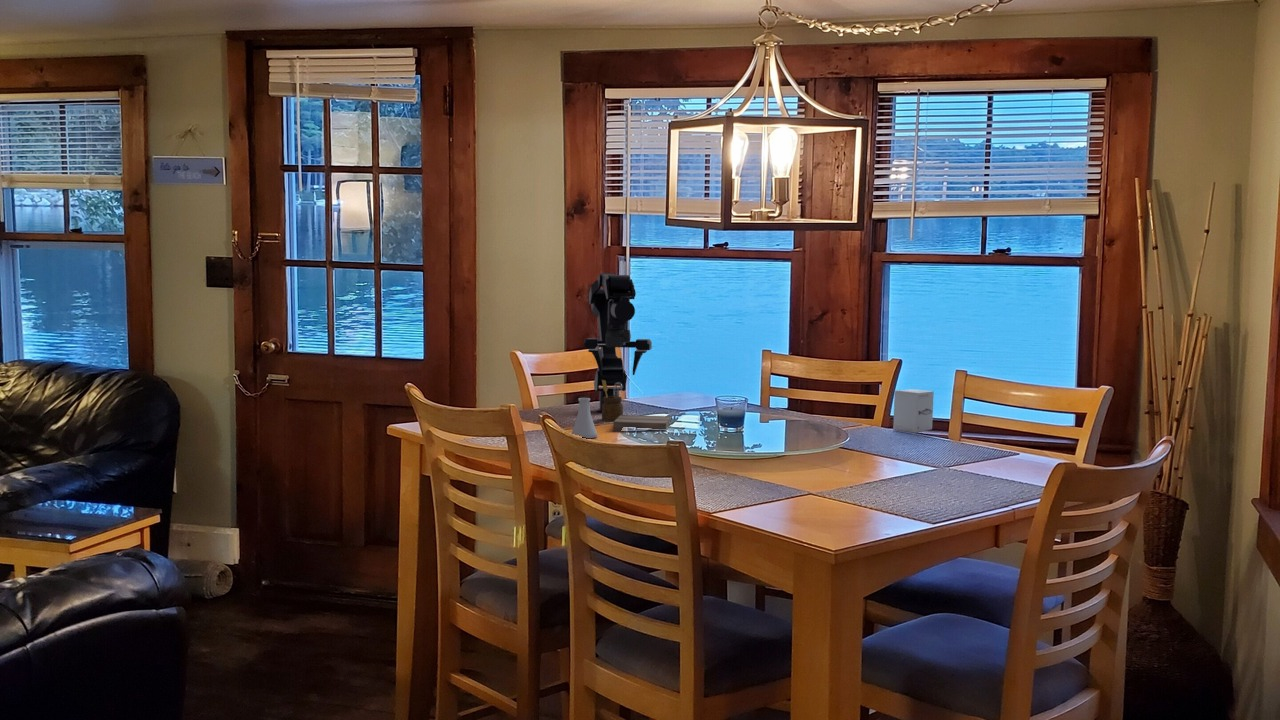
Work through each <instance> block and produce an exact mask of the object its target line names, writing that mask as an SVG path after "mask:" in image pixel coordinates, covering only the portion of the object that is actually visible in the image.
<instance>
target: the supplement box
mask: <svg viewBox="0 0 1280 720" xmlns="http://www.w3.org/2000/svg"><path fill="white" fill-rule="evenodd" d="M933 414H934V390H925V389H916V388H915V389H913V388H909V389H899V390H898V389H897V390H894V400H893V422H892V423H893V427H892V429H893V430H894V431H900V432H907V433H915V434H918V433H921V432H926V431H930V430H933V418H934V417H933V416H934V415H933Z"/></svg>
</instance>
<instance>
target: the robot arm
mask: <svg viewBox="0 0 1280 720" xmlns="http://www.w3.org/2000/svg"><path fill="white" fill-rule="evenodd" d="M636 294H637V292H636V288H635V283H634V282H633V279H631V277H630V275H629V274H615V273H614V272H613V273H611V272H609V273H606V272H604V273H603V272H602V273H598V275H597V279H596V280H595V281H594V282H593V283H592V284H591V285H590V288H589V292H588V303H589V305H590V307H591V312H592V313H593V315H594V316H595V317H596V318H597V323H598V324H597V325H598V334H599V335H598V336H599V338H596V337H588V338H585V339H584V340H583V349H584V350H587V352H588V353H591V354H592V355H593V357H594V359H595V362H596V364H597V370H596V371H595V377H594V381H593V386H594V389H593V390H595V392H599V408H598V409H597V410H596V412H597V413H598V412H599V413H602V405H603V403H604V401H603V399H604V397H605V396H606V393H605V391H604V389H603V384H602V380H604V382H605V381H606V385H607V389H608V391H607V396H620V392H623V391H624V392H625V391H626V390H627V387H626V386H627V381H628V379H627V378H628V374H626V373H627V372H626V370H625V369H624V363H623V359H622V357H618V356H617V351H616V348H635V349H636V350H634V354H633V355H634V357H633V365H632V376H635V375H636V372H637V370H638V369H637V368H638V365H639V362H640V360H641V358H642V356H643V354H646V353H647V352H648V351H651V350H652V340H651V339H650V338H647V339H646V338H637V339H636V340H635V341H633V340H631V339H632V337H631V335H632V334H631V329H629V321H631V320H632V319H633V318H634V317H635V313H636V308H635V306H634V304H633V303H632V302H630V300H635V297H636V296H637V295H636ZM604 382H603V383H604ZM616 383H617V385H616ZM618 383H619V384H618ZM620 383H621V384H620ZM614 385H615V386H614ZM621 386H622V387H621ZM615 388H616V389H615ZM617 388H619V389H617ZM620 389H621V390H620ZM614 390H615V395H614ZM617 394H618V395H617Z"/></svg>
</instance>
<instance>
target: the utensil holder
mask: <svg viewBox="0 0 1280 720" xmlns="http://www.w3.org/2000/svg"><path fill="white" fill-rule="evenodd" d="M603 382H604V380H602V384H603V386H602V387H603V389H604V391H605V393H606V396H605V397H604V399H603V401H604V403H603V405H602V412H601V421H604V422H614V421H615V420H616V419H617V418H618V417H619V416H620V415H624V406H623V403H622V402H623V399H622V396H621V395H622V394H621V393H622V391H619V396H607V391H608V389H607V387H608V386H607V385H606V381H605V382H604V383H603ZM618 384H619V383H618ZM620 384H621V383H620ZM616 385H617V383H616ZM613 387H616V386H615V385H614V386H613ZM621 387H622V386H621ZM615 389H616V388H615ZM617 389H619V388H617ZM620 390H621V389H620ZM614 395H615V390H614ZM617 395H618V394H617Z"/></svg>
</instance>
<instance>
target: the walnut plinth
mask: <svg viewBox="0 0 1280 720" xmlns="http://www.w3.org/2000/svg"><path fill="white" fill-rule="evenodd" d="M612 422H613V423H612V424H613V425H612V427H613V430H612V431H613V432H621V430H622V428H623V427H636V428H652V429H666V428H667V427H668V425H669V423H670V422H671V423H672V416H669V415H667V416H666V415H665V416H664V415H638V414H637V415H635V414H633V415H632V414H623V415H620V416H619V417H618V418H617V419H616V420H615V421H612ZM671 423H670V424H671ZM669 426H670V425H669ZM668 428H669V427H668ZM668 428H667V429H668Z"/></svg>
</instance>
